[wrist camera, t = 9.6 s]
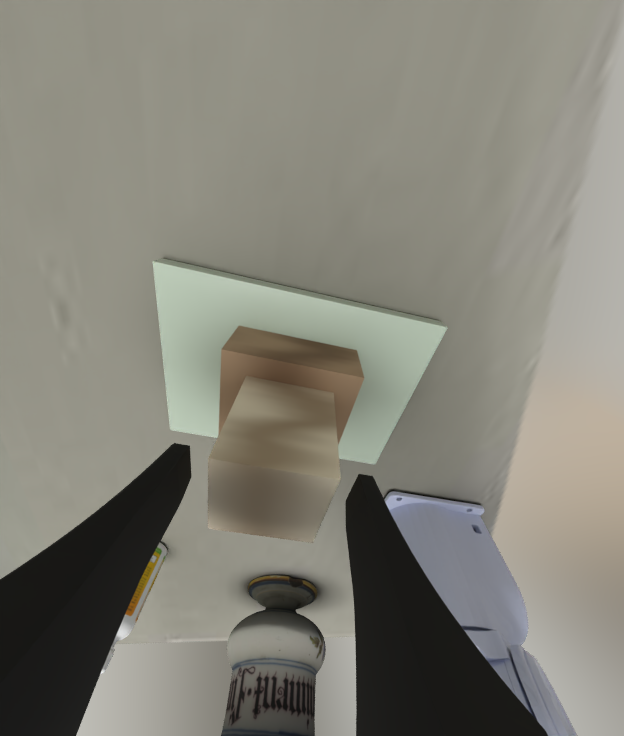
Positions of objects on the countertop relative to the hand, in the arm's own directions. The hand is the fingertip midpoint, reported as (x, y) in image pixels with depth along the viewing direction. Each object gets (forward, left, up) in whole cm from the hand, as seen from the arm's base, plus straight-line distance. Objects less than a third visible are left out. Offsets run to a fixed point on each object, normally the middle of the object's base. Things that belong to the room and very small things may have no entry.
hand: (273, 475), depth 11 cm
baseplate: (0, 0, -8) cm, 8 cm away
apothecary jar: (-5, +36, -8) cm, 37 cm away
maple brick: (0, 0, -4) cm, 4 cm away
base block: (0, 0, -8) cm, 8 cm away
